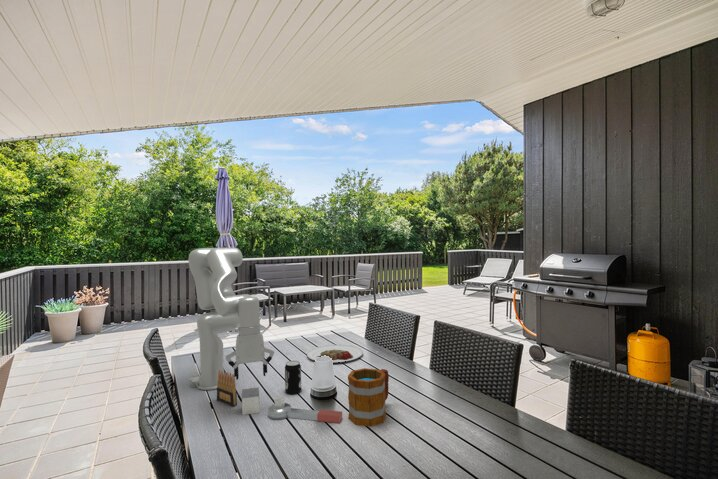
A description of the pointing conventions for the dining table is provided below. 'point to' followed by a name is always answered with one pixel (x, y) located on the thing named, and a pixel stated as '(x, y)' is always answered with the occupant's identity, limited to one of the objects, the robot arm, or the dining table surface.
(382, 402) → the mug
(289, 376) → the beverage can
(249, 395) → the brushed metal block
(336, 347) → the plated food
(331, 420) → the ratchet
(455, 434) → the dining table surface
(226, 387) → the ammunition clip
